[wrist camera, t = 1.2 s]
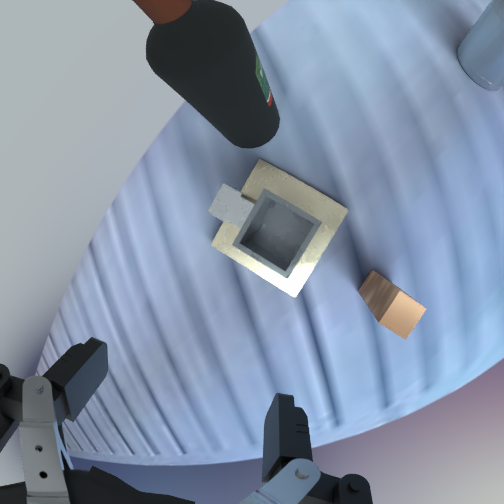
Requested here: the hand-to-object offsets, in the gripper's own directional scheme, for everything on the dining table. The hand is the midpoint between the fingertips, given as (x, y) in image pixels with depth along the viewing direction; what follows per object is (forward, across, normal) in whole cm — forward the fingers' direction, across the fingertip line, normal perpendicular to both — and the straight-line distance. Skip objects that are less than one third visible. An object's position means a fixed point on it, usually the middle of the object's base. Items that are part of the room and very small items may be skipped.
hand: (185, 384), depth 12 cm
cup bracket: (+25, -5, -4) cm, 26 cm away
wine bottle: (+28, +3, -16) cm, 32 cm away
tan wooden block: (+22, -17, 0) cm, 28 cm away
